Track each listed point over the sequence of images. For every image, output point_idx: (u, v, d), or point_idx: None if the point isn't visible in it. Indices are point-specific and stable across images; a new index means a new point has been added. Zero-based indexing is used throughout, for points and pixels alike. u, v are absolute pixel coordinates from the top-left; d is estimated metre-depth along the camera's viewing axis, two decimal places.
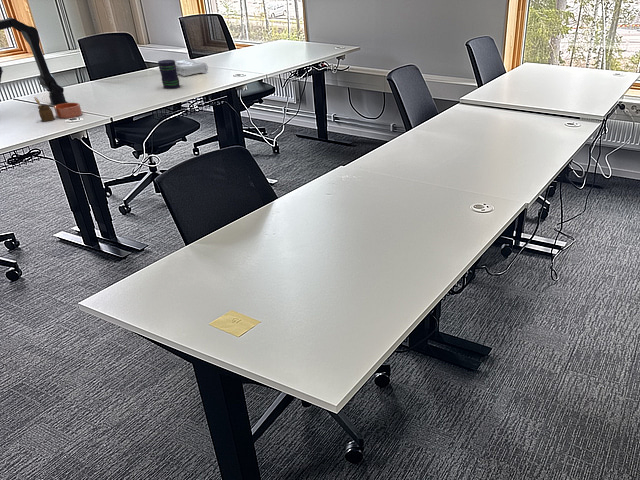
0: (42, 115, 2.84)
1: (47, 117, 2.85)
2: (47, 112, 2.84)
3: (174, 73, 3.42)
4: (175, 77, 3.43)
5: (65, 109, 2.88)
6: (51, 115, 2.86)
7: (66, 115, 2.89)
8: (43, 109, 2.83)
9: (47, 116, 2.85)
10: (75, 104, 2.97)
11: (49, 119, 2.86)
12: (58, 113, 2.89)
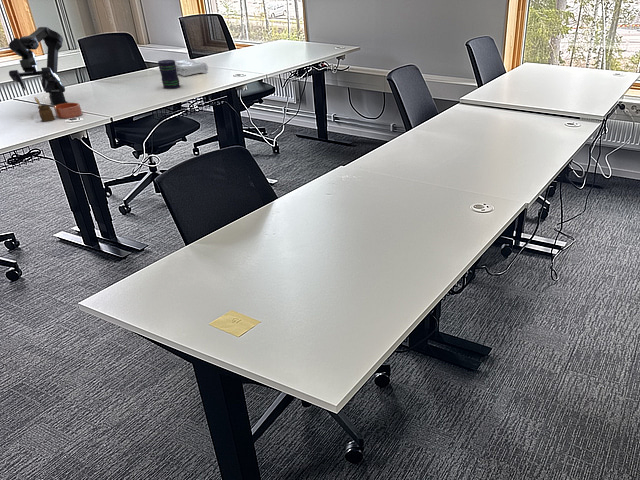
0: (42, 115, 2.84)
1: (47, 117, 2.85)
2: (47, 112, 2.84)
3: (174, 73, 3.42)
4: (175, 77, 3.43)
5: (65, 109, 2.88)
6: (51, 115, 2.86)
7: (66, 115, 2.89)
8: (43, 109, 2.83)
9: (47, 116, 2.85)
10: (75, 104, 2.97)
11: (49, 119, 2.86)
12: (58, 113, 2.89)
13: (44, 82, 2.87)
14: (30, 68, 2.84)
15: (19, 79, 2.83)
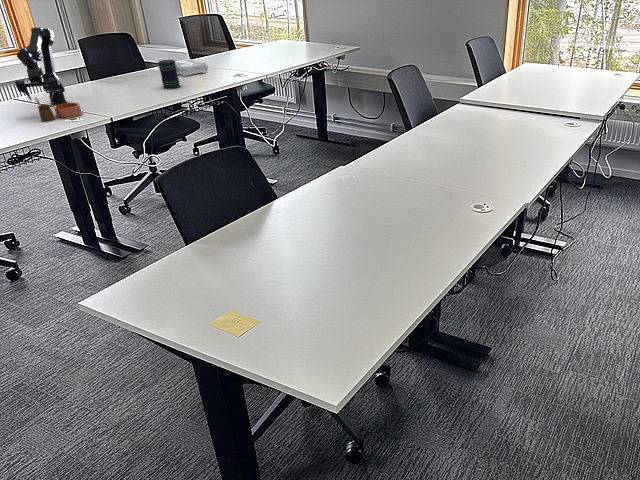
0: (42, 115, 2.84)
1: (47, 117, 2.85)
2: (47, 112, 2.84)
3: (174, 73, 3.42)
4: (175, 77, 3.43)
5: (65, 109, 2.88)
6: (51, 115, 2.86)
7: (66, 115, 2.89)
8: (43, 109, 2.83)
9: (47, 116, 2.85)
10: (75, 104, 2.97)
11: (49, 119, 2.86)
12: (58, 113, 2.89)
13: (51, 92, 2.86)
14: (37, 78, 2.84)
15: (25, 89, 2.82)
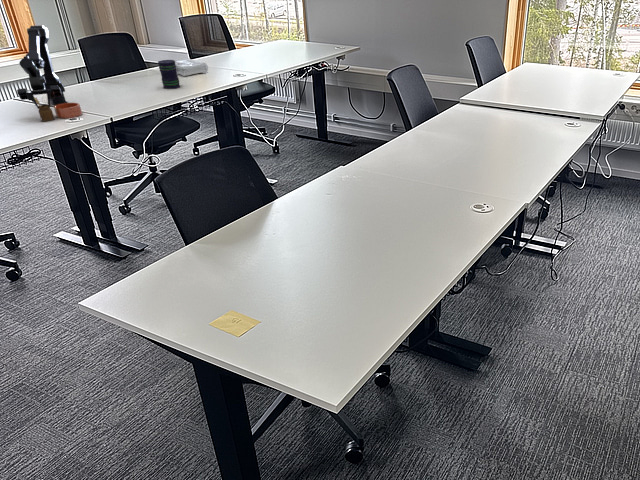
0: (42, 115, 2.84)
1: (47, 117, 2.85)
2: (47, 112, 2.84)
3: (174, 73, 3.42)
4: (175, 77, 3.43)
5: (65, 109, 2.88)
6: (51, 115, 2.86)
7: (66, 115, 2.89)
8: (43, 109, 2.83)
9: (47, 116, 2.85)
10: (75, 104, 2.97)
11: (49, 119, 2.86)
12: (58, 113, 2.89)
13: (49, 100, 2.84)
14: (39, 86, 2.82)
15: (32, 97, 2.81)
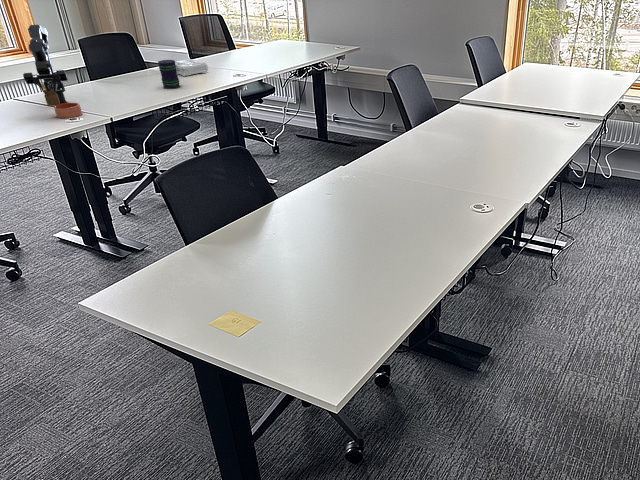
0: (48, 100, 2.84)
1: (53, 102, 2.85)
2: (53, 97, 2.84)
3: (174, 73, 3.42)
4: (175, 77, 3.43)
5: (65, 109, 2.88)
6: (57, 100, 2.86)
7: (66, 115, 2.89)
8: (49, 94, 2.83)
9: (53, 101, 2.85)
10: (75, 104, 2.97)
11: (55, 104, 2.86)
12: (58, 113, 2.89)
13: (54, 85, 2.84)
14: (45, 71, 2.82)
15: (38, 81, 2.81)
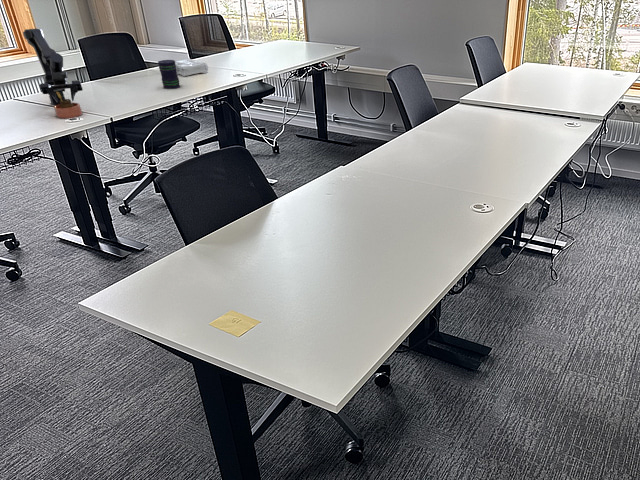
0: None
1: None
2: (68, 106, 2.91)
3: (174, 73, 3.42)
4: (175, 77, 3.43)
5: (65, 109, 2.88)
6: None
7: (66, 115, 2.89)
8: (64, 103, 2.90)
9: None
10: (75, 104, 2.97)
11: None
12: (58, 113, 2.89)
13: (72, 95, 2.91)
14: (60, 81, 2.89)
15: (52, 91, 2.88)
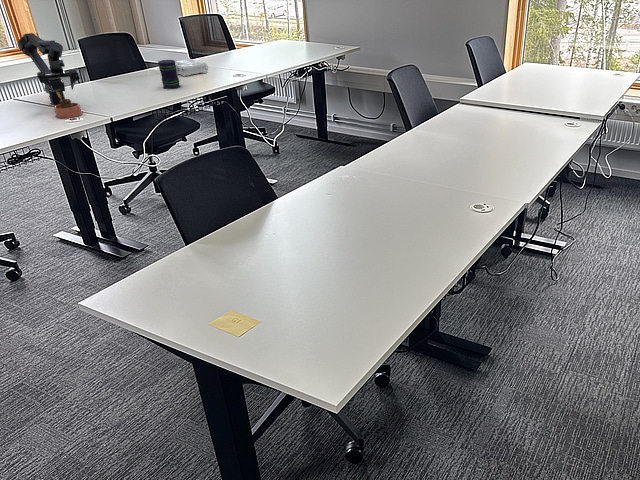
0: None
1: None
2: (68, 106, 2.91)
3: (174, 73, 3.42)
4: (175, 77, 3.43)
5: (65, 109, 2.88)
6: None
7: (66, 115, 2.89)
8: (64, 103, 2.90)
9: None
10: (75, 104, 2.97)
11: None
12: (58, 113, 2.89)
13: (71, 83, 2.94)
14: (58, 70, 2.92)
15: (47, 80, 2.90)
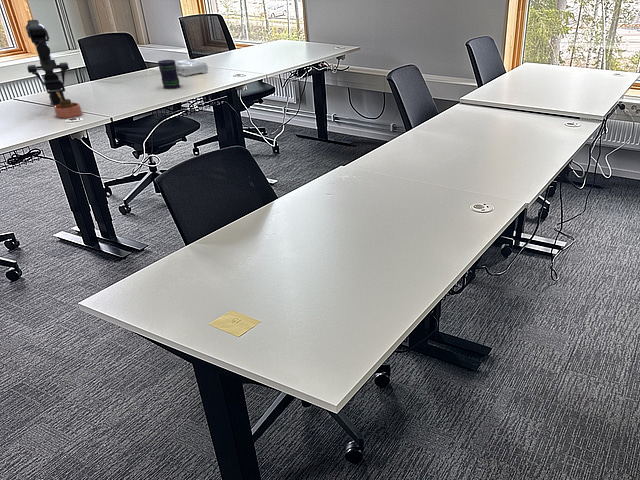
0: None
1: None
2: (68, 106, 2.91)
3: (174, 73, 3.42)
4: (175, 77, 3.43)
5: (65, 109, 2.88)
6: None
7: (66, 115, 2.89)
8: (64, 103, 2.90)
9: None
10: (75, 104, 2.97)
11: None
12: (58, 113, 2.89)
13: (63, 78, 2.96)
14: None
15: (38, 76, 2.91)
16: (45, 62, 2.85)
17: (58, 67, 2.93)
